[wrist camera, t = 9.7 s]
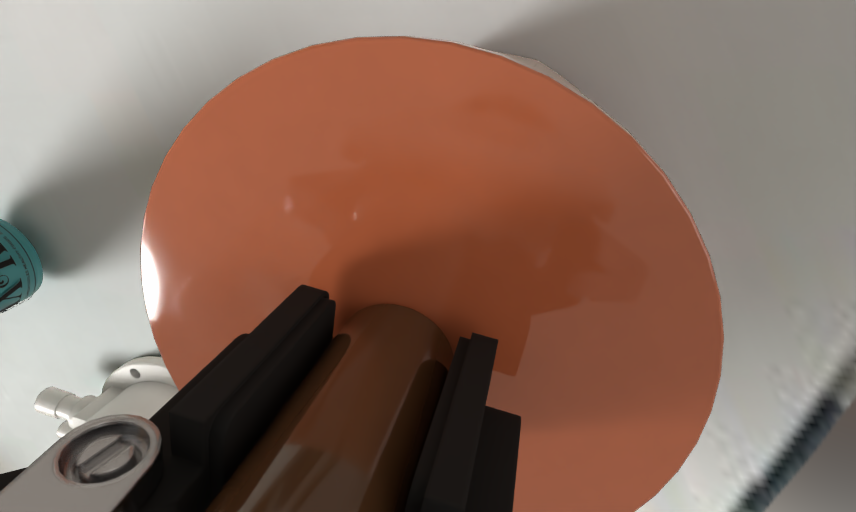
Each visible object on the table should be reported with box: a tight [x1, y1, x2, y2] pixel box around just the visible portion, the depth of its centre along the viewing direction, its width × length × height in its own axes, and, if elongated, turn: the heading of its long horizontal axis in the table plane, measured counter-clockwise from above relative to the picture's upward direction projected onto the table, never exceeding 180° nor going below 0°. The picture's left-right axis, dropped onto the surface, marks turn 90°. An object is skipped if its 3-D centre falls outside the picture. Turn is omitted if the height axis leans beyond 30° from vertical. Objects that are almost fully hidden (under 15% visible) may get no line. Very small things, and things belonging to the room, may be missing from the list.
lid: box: [140, 36, 724, 512], centre depth 9 cm, size 13×13×6 cm
